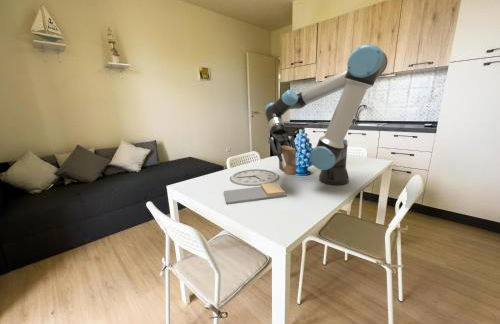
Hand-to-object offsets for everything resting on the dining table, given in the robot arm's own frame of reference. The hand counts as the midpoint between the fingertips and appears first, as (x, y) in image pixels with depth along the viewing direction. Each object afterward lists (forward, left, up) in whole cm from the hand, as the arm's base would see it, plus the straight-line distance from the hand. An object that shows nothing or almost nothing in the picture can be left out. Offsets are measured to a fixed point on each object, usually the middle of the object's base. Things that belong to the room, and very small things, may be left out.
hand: (289, 166), depth 102 cm
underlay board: (+17, -4, -13) cm, 22 cm away
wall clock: (+11, -30, -14) cm, 35 cm away
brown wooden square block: (0, -4, -4) cm, 5 cm away
